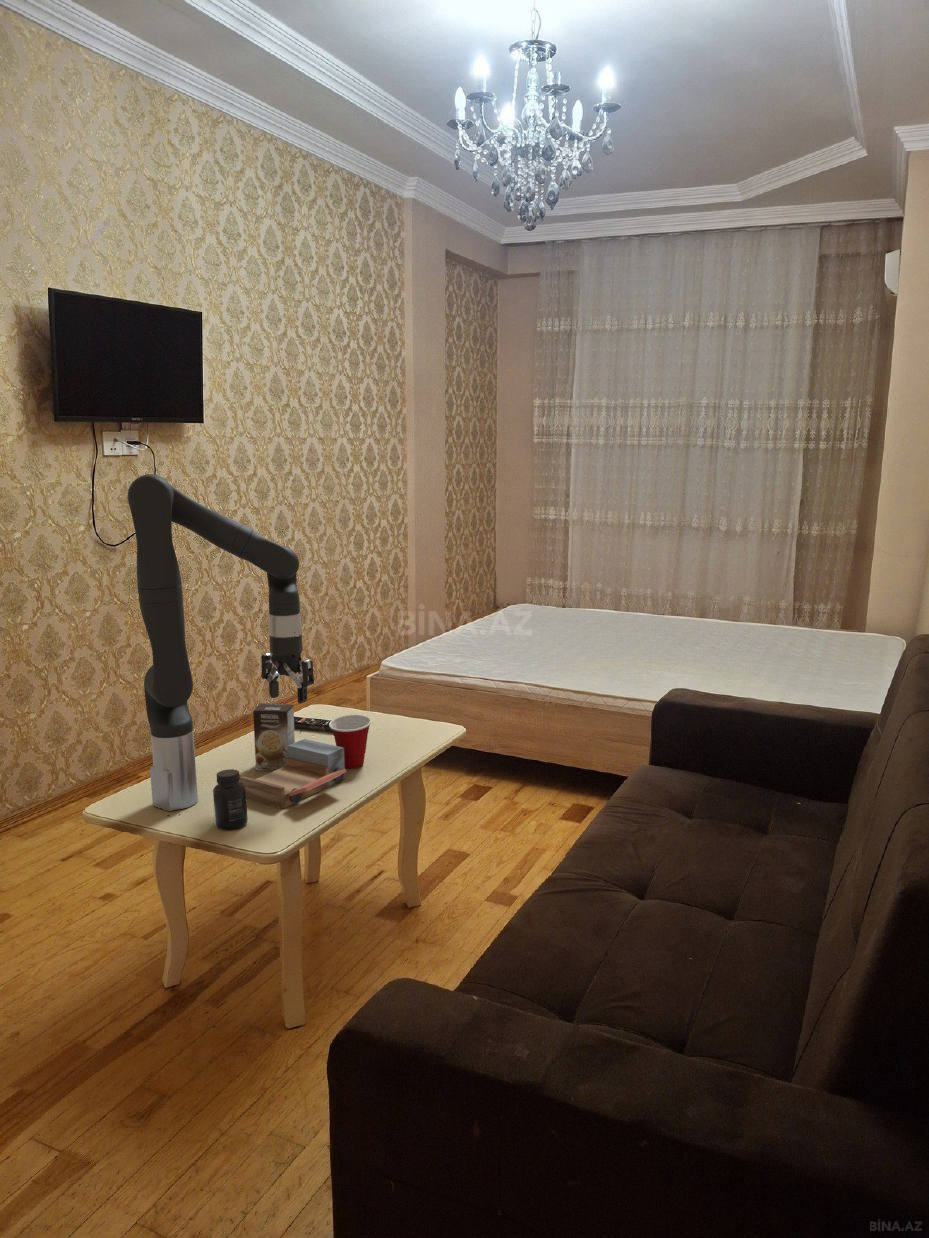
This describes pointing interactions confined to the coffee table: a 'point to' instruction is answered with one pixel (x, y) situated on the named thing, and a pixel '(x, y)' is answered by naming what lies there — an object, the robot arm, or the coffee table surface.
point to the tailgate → (317, 782)
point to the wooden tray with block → (297, 774)
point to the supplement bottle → (230, 801)
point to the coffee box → (273, 735)
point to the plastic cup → (351, 738)
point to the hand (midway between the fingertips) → (288, 699)
